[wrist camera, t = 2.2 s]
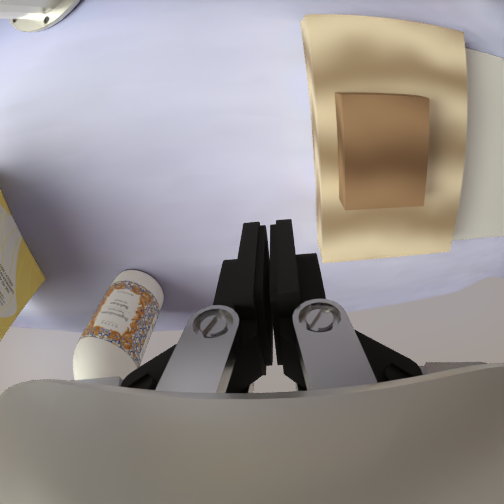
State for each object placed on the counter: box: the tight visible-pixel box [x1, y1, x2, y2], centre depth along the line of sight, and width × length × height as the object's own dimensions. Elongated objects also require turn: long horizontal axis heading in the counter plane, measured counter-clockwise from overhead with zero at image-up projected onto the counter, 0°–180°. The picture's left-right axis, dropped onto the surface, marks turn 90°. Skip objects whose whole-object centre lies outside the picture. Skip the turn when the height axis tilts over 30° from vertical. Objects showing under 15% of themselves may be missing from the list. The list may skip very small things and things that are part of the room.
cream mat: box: [452, 48, 504, 240], centre depth 25 cm, size 22×13×1 cm, turn 7°
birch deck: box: [301, 14, 467, 263], centre depth 24 cm, size 22×14×4 cm, turn 7°
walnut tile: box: [335, 92, 429, 211], centre depth 22 cm, size 9×7×2 cm
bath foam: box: [73, 270, 164, 380], centre depth 29 cm, size 7×7×20 cm
